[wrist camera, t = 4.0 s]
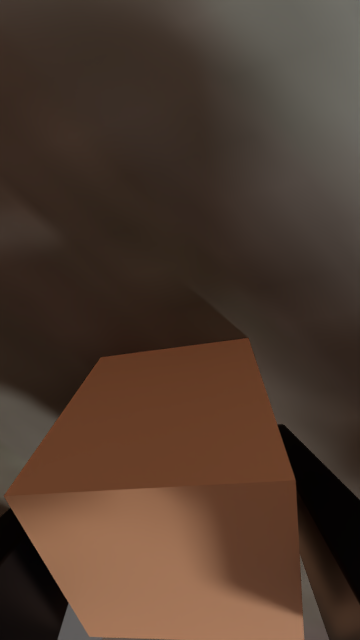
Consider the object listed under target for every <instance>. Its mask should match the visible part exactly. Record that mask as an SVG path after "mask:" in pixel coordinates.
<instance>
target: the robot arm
mask: <svg viewBox="0 0 360 640" xmlns="http://www.w3.org/2000/svg"><path fill="white" fill-rule="evenodd" d="M278 428H279V431H280V434H281V437H282V441H283V444H284V447H285V450H286V453H287V456H288V459H289V462H290V465H291V468H292V471H293V474H294V477H295V480H296V496H297V515H298V534H299V553H300V555H301V558H302V561H303V564H304V567H305V570H306V573H307V576H308V579H309V582H310V585H311V588H312V590H313V593H314V596H315V599H316V602H317V605H318V608H319V611H320V614H321V617H322V620H323V623H324V625H325V628H326V631H327V634H328V637H329V640H360V500H359V499H358V498H357V497H356V496H355V495H354V494H353V493H352V492H351V491H350V490H349V489H348V488H347V487H346V486H345V485H344V484H343V483H342V482H341V481H340V480H339V479H338V478H337V477H336V476H335V475H334V474H333V473H332V472H331V471H330V470H329V469H328V468H327V467H326V466H325V465H324V464H323V463H322V462H321V461H320V460H319V459H318V458H317V457H316V456H315V455H314V454H313V453H312V452H311V451H310V450H309V449H308V448H307V447H306V446H305V445H304V444H303V443H302V442H301V441H300V440H299V439H298V438H297V437H296V436H295V435H294V434H293V433H292V432H291V431H290V430H289V429H288V428H287V427H286V426H285V425H283V424H278ZM68 604H69V602H68V601H67V599H66V598H65V596H64V594H63V593H62V591H61V589H60V588H59V586H58V584H57V583H56V581H55V579H54V578H53V576H52V575H51V573H50V571H49V570H48V568H47V566H46V565H45V563H44V561H43V560H42V558H41V556H40V555H39V553H38V552H37V550H36V548H35V547H34V545H33V543H32V542H31V540H30V538H29V537H28V535H27V534H26V532H25V530H24V529H23V527H22V525H21V524H20V522H19V520H18V519H17V517H16V515H15V514H14V512H13V511H12V509H11V508H10V509H9V510H8V511H7V512H5V513H4V514H3V515H2V516H1V517H0V640H58V637H59V633H60V630H61V627H62V623H63V620H64V617H65V613H66V610H67V607H68Z"/></svg>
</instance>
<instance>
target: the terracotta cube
mask: <svg viewBox="0 0 360 640" xmlns="http://www.w3.org/2000/svg"><path fill="white" fill-rule="evenodd" d="M4 497H5V499H6V501H7V502H8V504H9V506H10V507H11V509H12V511H13V512H14V514H15V515H16V517H17V519H18V520H19V522H20V524H21V525H22V527H23V529H24V530H25V532H26V534H27V535H28V537H29V538H30V540H31V542H32V543H33V545H34V547H35V548H36V550H37V552H38V553H39V555H40V556H41V558H42V560H43V561H44V563H45V565H46V566H47V568H48V570H49V571H50V573H51V575H52V576H53V578H54V579H55V581H56V583H57V584H58V586H59V588H60V589H61V591H62V593H63V594H64V596H65V598H66V599H67V601H68V602H69V604H70V606H71V607H72V609H73V611H74V612H75V614H76V616H77V617H78V619H79V621H80V622H81V624H82V625H83V627H84V629H85V630H86V632H87V634H88V635H89V637H111V638H144V639H177V640H304V629H303V610H302V591H301V572H300V553H299V534H298V515H297V496H296V480H295V477H294V474H293V471H292V468H291V465H290V462H289V459H288V456H287V453H286V450H285V447H284V444H283V441H282V437H281V434H280V431H279V428H278V425H277V422H276V419H275V416H274V413H273V410H272V407H271V404H270V401H269V398H268V395H267V392H266V389H265V386H264V383H263V380H262V377H261V374H260V371H259V368H258V365H257V362H256V359H255V356H254V353H253V350H252V347H251V344H250V341H249V338H244V339H236V340H228V341H221V342H213V343H206V344H198V345H190V346H183V347H175V348H168V349H160V350H152V351H145V352H137V353H130V354H122V355H114V356H107V357H100V359H99V360H98V362H97V363H96V365H95V366H94V367H93V369H92V370H91V372H90V373H89V375H88V376H87V378H86V379H85V380H84V382H83V383H82V385H81V386H80V388H79V389H78V390H77V392H76V393H75V395H74V396H73V398H72V399H71V400H70V402H69V403H68V405H67V406H66V408H65V409H64V410H63V412H62V413H61V415H60V416H59V418H58V419H57V420H56V422H55V423H54V425H53V426H52V428H51V429H50V430H49V432H48V433H47V435H46V436H45V438H44V439H43V440H42V442H41V443H40V445H39V446H38V448H37V449H36V450H35V452H34V453H33V455H32V456H31V458H30V459H29V461H28V462H27V463H26V465H25V466H24V468H23V469H22V471H21V472H20V473H19V475H18V476H17V478H16V479H15V481H14V482H13V483H12V485H11V486H10V488H9V489H8V491H7V492H6V493H5V495H4Z"/></svg>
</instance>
